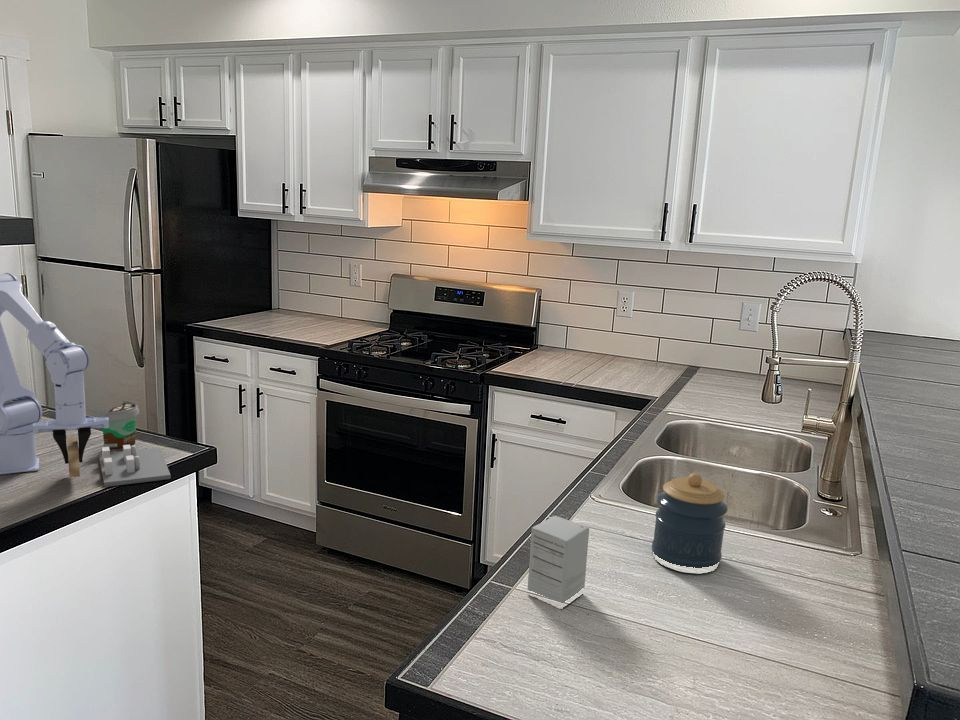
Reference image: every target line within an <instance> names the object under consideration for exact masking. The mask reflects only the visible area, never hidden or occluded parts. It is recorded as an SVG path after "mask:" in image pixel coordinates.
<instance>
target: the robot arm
mask: <svg viewBox="0 0 960 720" xmlns="http://www.w3.org/2000/svg"><path fill="white" fill-rule="evenodd" d="M23 288H24V287H23V284H22V283H21V282H20V281H19V279H18V278H17V277H16V276H15V274H13V273H11V272H5V273H0V318H1V317H2V315H3V314H4V313H5V312H8V313H9V314H10V315H12V316H13V317H14V318H15V319H16V320H17V321H18V322H19V323H20V324H21V325H22V326H23V327H25V328H26V330H28V333H27V339H28V341H30V342H31V344H32V345H33V346H34V347H35V348H36V349H37V350H38V351H39V352H40V353H41V354H42V356H43V357H44V358H45V359H46V360H45V365H46V369H47V371H48V372H49V374H50V380H51V382H52V384H53V389H54V406H55V419H54V420H47V421H42V419H43V407H42V406H41V403H40V402H39V401H38V399H37V397H36V396H35V393H34V391H33V390H32V389H29V388H27V387H25V386H23V385H22V384H21V381H20V378H19V375H18V371H17V369H16V366H15V362H14V358H13V357H12V353H11V350H10V347H9V343H8V341H7V337H6V334H5V331H4V328H3V326H2V322H1V320H0V475H7V474H17V473H24V472H26V473H27V472H36V471H39V470H40V457H37V444H36V443H37V442H36V435H39V434H44V433H52V438H53V440H54V441H55V442H56V444H57V445H58V447H59V449H60V451H61V453H62V456H63V459H64V460H63V461H64V464H68V465H69V462H68V446H67V432H68V431H77V440H78V450H79V463H83V457H84V452H85V449H86V445H87V444H88V441H89V439H90V438H91V435H92V429H102V428H109V419H108V417H106V418H100V417H87V414H86V413H87V411H86V395H85V394H86V393H85V374H84V371H86V370H87V369H88V368H89V366H90V355H89V352H87V349H86V348H85V347H84V346H83V345H81V344H76V343H75V342H72V341H71V342H70V341H69V339H68V338H67V337H66V336H65V335H64V334H63V332H62V331H61V330H59V328H58V326H57V325H56V324H55V323H54V322H52V321H45V320H43V319H42V318H41V316H40V315H39V313H38V312H37V311H36V310H35V309H34V307H33V305H31V303H30V302H29V300H28V299H27V298H26V296H25V295H24V294H23V293H24V290H23ZM12 400H13V401H12ZM8 401H10V402H8ZM40 421H41V422H40Z"/></svg>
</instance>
